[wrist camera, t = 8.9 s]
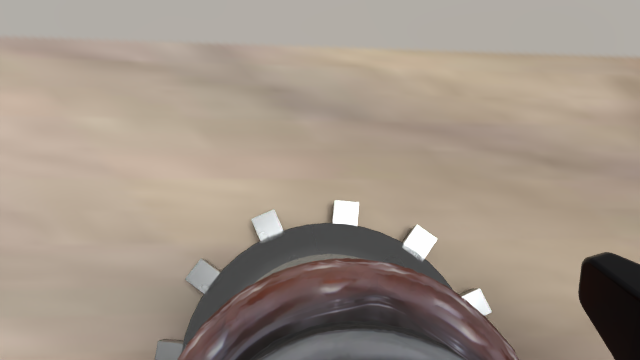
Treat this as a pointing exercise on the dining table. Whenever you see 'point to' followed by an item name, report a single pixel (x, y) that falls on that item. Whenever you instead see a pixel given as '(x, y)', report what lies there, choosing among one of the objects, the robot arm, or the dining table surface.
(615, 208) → the dining table surface
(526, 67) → the dining table surface
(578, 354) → the dining table surface
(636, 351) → the robot arm
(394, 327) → the supplement bottle
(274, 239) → the sprocket plate
